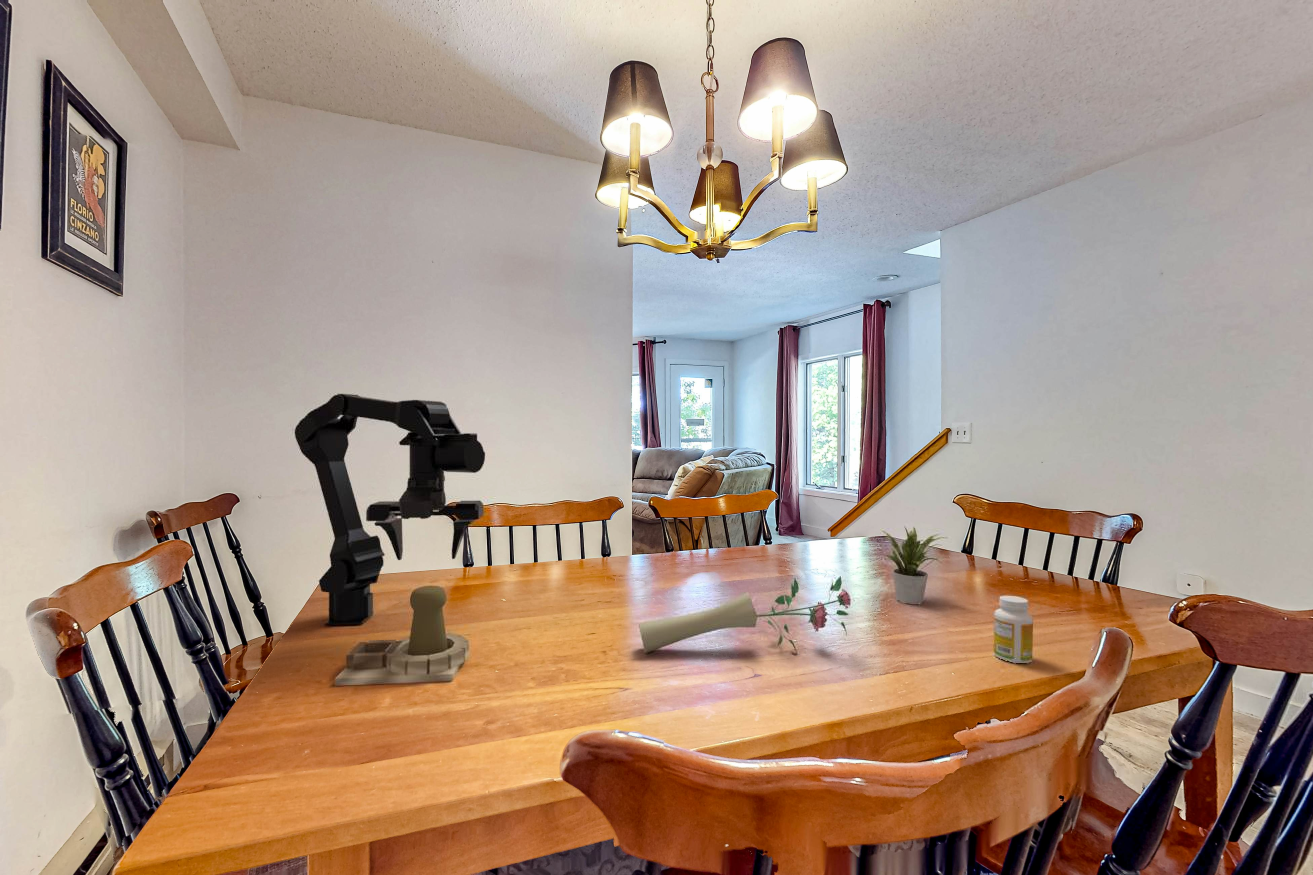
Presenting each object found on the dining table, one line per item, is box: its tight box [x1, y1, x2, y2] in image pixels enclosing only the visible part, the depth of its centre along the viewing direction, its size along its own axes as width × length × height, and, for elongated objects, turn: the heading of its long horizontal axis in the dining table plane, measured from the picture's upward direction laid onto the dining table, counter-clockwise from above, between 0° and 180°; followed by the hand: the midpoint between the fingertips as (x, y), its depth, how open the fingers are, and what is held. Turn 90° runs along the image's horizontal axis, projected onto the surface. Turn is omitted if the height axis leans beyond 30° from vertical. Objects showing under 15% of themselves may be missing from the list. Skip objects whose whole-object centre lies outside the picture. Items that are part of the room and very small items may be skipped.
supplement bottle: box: [993, 595, 1034, 664], centre depth 95 cm, size 5×5×10 cm
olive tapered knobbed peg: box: [407, 585, 448, 656], centre depth 89 cm, size 6×6×11 cm
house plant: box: [882, 525, 947, 605], centre depth 124 cm, size 14×14×16 cm
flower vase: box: [638, 575, 852, 654], centre depth 97 cm, size 12×12×35 cm
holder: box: [334, 632, 470, 687], centre depth 89 cm, size 17×12×3 cm
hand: (426, 559), depth 103 cm, fingers open, 9 cm apart
